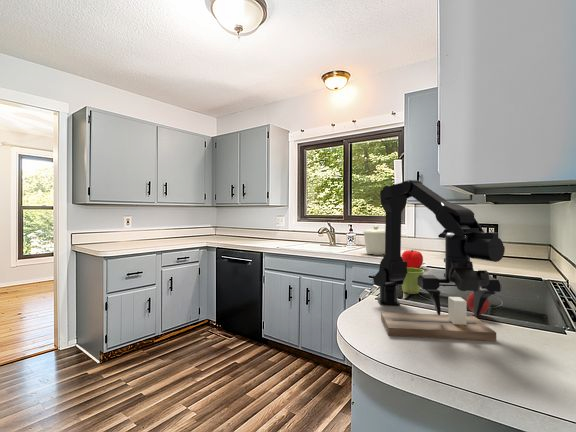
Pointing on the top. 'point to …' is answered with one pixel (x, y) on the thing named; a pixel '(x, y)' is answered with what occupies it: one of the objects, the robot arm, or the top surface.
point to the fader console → (435, 327)
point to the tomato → (412, 258)
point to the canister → (375, 241)
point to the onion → (471, 304)
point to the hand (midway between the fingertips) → (457, 315)
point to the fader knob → (457, 310)
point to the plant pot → (412, 281)
